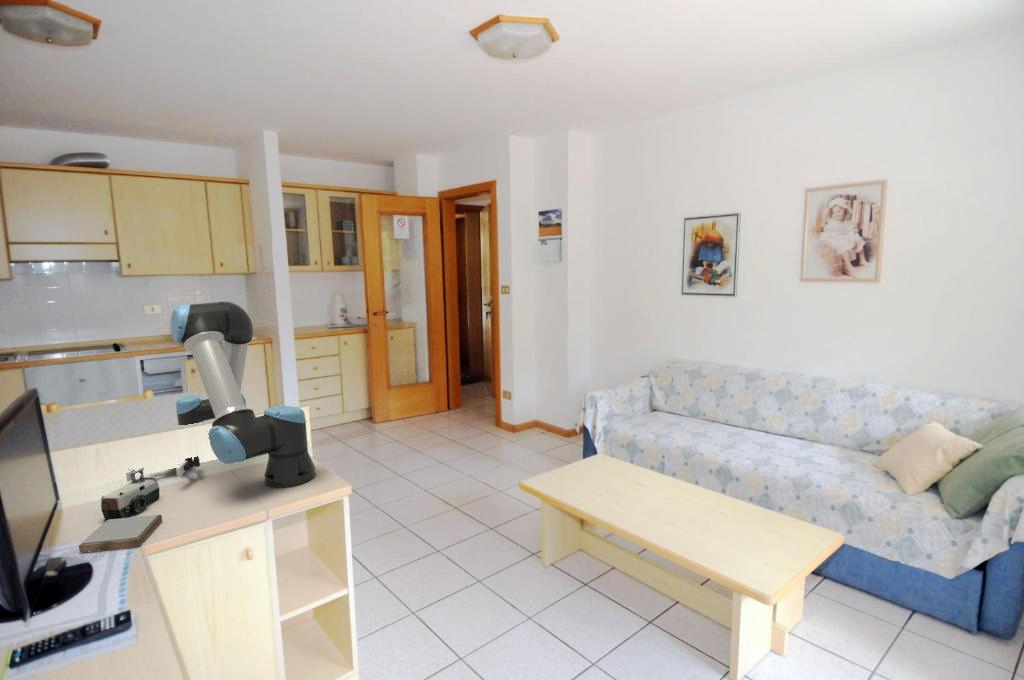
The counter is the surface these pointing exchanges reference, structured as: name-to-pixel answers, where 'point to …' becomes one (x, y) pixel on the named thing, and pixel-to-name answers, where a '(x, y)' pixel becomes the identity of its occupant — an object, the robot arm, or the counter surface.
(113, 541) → the walnut stand
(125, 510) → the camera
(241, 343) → the robot arm
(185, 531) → the counter surface
